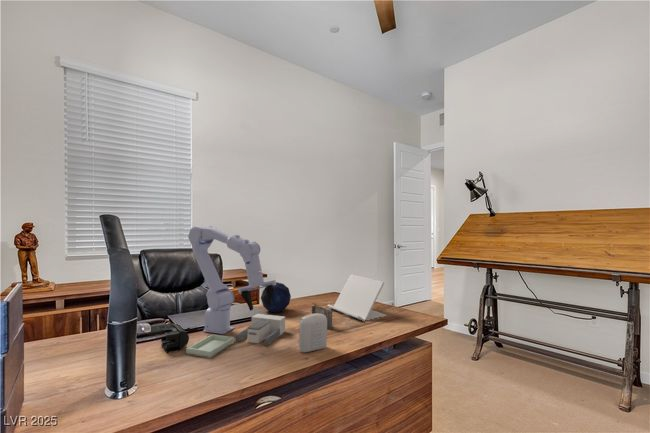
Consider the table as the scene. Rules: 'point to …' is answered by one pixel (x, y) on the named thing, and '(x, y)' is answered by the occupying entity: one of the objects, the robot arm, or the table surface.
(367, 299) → the tablet stand
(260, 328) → the grey rectangular block
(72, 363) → the table surface
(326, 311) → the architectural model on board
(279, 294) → the decorative orb
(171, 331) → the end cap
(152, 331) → the smart home device
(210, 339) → the tray
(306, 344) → the photo printer
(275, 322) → the printer bay
